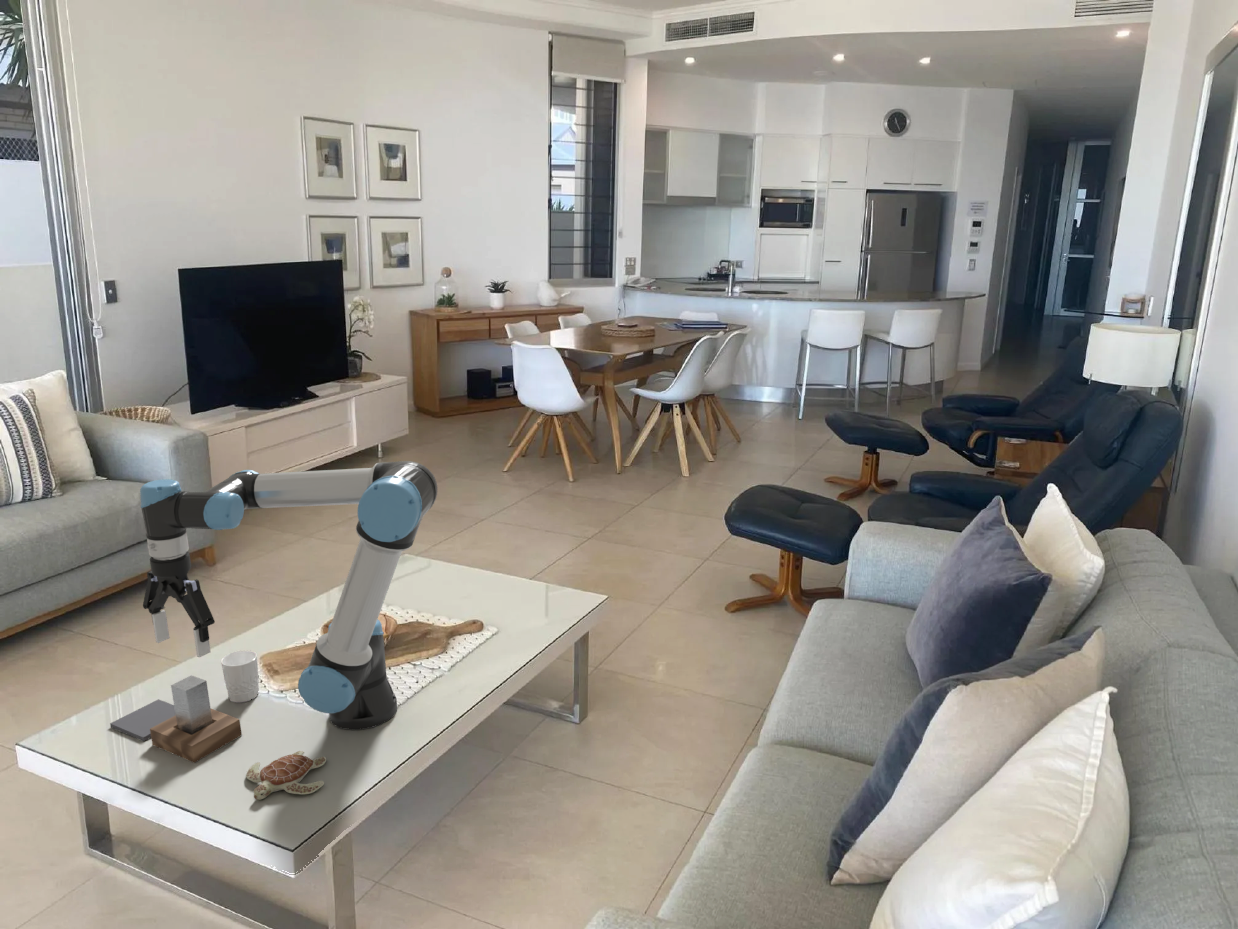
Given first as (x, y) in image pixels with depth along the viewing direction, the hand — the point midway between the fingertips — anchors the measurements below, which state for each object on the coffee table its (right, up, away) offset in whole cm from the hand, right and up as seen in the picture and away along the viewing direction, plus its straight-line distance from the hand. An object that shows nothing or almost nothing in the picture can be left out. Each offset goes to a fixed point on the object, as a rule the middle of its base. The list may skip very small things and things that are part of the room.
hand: (183, 647), depth 198 cm
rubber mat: (-14, -20, +14) cm, 27 cm away
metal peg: (0, -22, +6) cm, 22 cm away
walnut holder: (0, -22, +6) cm, 22 cm away
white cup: (+3, -17, +24) cm, 30 cm away
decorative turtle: (+25, -26, -9) cm, 37 cm away
